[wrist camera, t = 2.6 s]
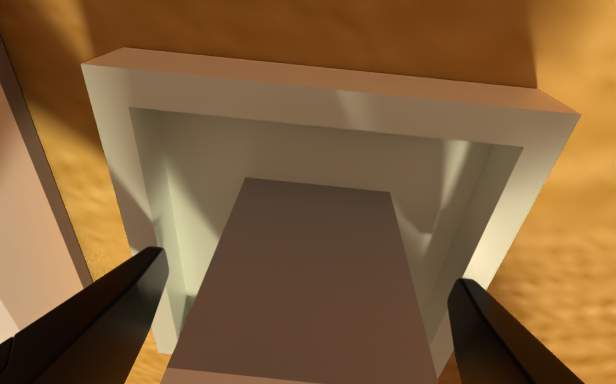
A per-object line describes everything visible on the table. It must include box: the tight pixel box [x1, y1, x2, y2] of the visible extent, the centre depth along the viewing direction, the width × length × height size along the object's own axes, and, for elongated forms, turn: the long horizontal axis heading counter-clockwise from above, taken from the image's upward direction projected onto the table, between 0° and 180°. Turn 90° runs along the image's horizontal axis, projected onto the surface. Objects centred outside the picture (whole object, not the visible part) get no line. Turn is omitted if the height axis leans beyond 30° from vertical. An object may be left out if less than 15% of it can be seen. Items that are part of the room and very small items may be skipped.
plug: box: [160, 177, 439, 384], centre depth 8 cm, size 4×4×6 cm
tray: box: [80, 47, 581, 379], centre depth 10 cm, size 10×10×2 cm
